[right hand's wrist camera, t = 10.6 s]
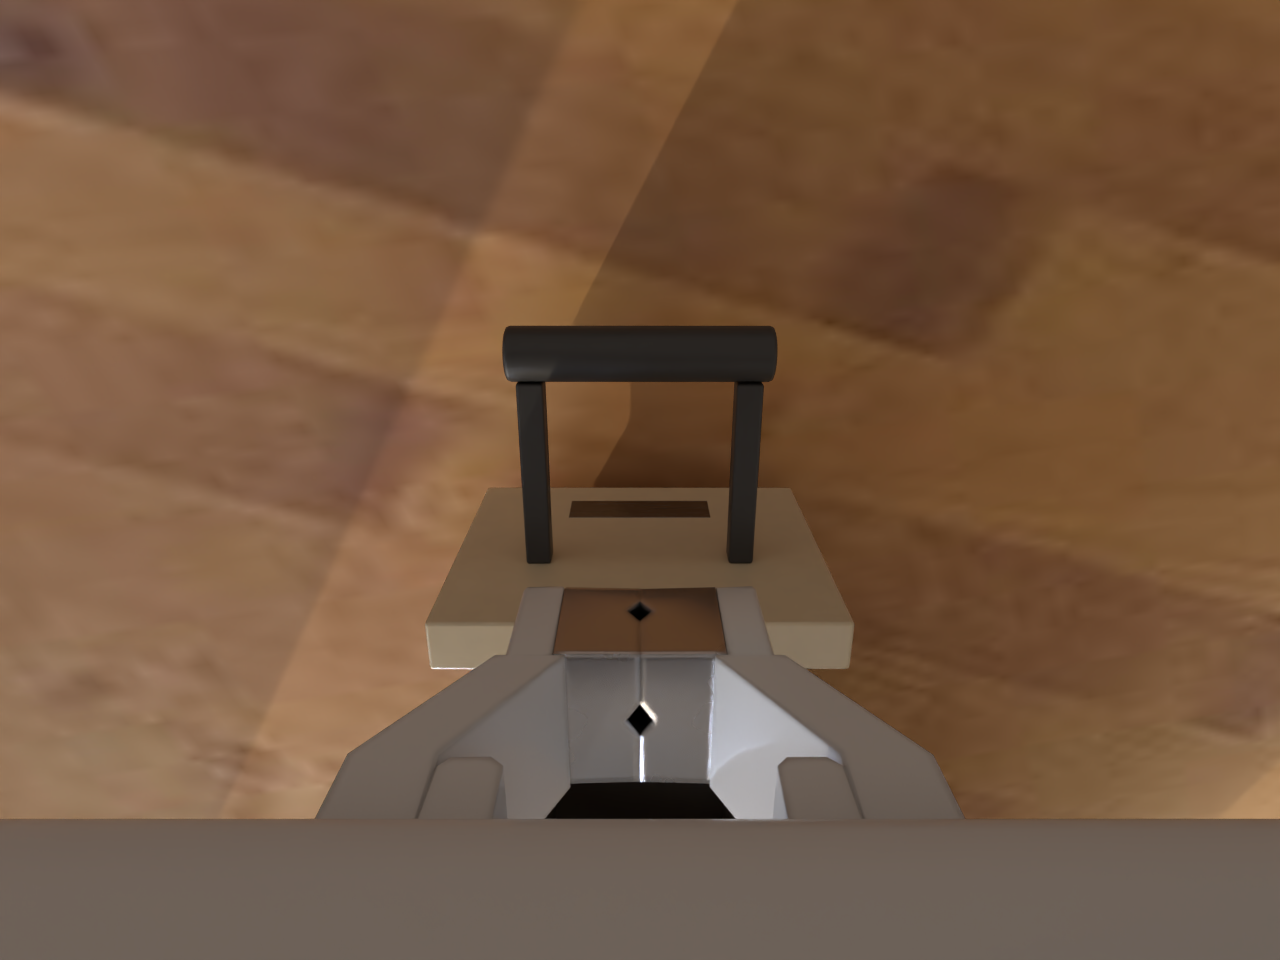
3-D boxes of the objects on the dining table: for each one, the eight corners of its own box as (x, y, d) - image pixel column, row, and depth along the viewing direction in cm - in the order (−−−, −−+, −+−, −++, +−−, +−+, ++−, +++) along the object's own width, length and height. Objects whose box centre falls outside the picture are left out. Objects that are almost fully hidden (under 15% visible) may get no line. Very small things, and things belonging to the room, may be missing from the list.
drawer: (472, 293, 21) (390, 356, 14) (806, 294, 21) (888, 356, 14) (522, 927, 30) (488, 1154, 23) (755, 927, 30) (790, 1153, 23)
